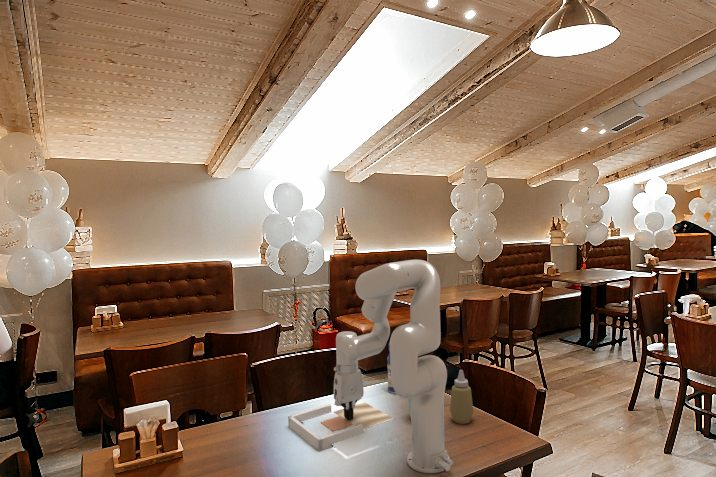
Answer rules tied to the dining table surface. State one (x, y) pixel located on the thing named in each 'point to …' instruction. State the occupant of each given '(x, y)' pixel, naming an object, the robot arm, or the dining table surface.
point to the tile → (336, 423)
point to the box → (314, 439)
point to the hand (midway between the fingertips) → (348, 418)
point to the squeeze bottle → (461, 400)
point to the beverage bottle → (390, 386)
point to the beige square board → (366, 415)
